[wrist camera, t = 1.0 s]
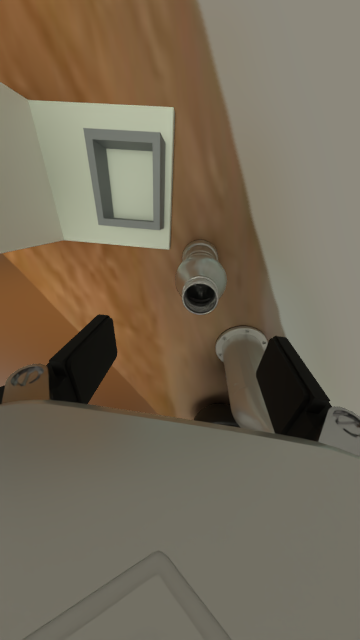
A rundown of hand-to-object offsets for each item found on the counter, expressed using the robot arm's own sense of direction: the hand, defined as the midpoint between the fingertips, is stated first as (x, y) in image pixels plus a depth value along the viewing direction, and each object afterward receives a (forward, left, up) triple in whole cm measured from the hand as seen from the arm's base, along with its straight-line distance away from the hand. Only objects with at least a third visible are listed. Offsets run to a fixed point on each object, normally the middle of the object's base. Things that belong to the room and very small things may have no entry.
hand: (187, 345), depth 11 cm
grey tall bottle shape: (-1, -1, -28) cm, 28 cm away
